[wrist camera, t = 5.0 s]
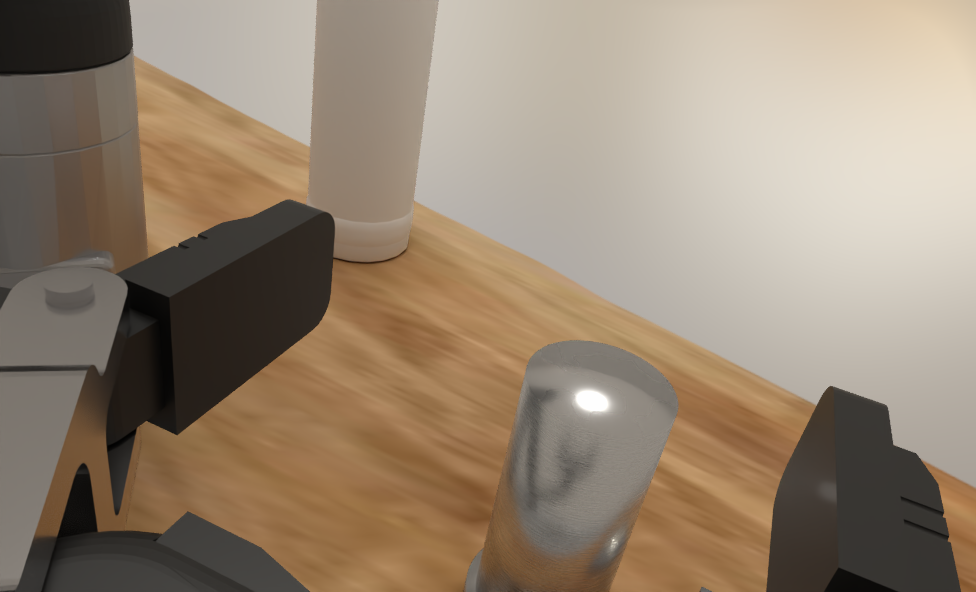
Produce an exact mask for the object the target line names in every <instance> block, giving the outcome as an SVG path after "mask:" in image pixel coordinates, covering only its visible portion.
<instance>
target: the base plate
mask: <svg viewBox="0 0 976 592" xmlns="http://www.w3.org/2000/svg"><path fill="white" fill-rule="evenodd" d="M700 592H712V591H710V590H708V589H706V588H704V587H701V589H700Z"/></svg>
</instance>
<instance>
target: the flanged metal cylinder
mask: <svg viewBox="0 0 976 592" xmlns="http://www.w3.org/2000/svg"><path fill="white" fill-rule="evenodd" d="M677 412H678V399H677V396H676V393H675V391H674V389H673V387H672V385H671V384H670V383H669V381H668V380H667V379H666V378H665V377H664V375H663V374H662V373H661V372H659V371H658V370H657V369H656V368H655V367H653V366H652V365H651V364H649V363H648V362H646V361H645V360H643V359H642V358H640V357H638V356H636V355H634V354H632V353H630V352H627V351H625V350H623V349H620V348H617V347H614V346H611V345H607V344H603V343H598V342H591V341H580V340H574V341H562V342H557V343H553V344H550V345H547V346H545V347H543V348H541V349H540V350H538V351H537V352H536V353H535V354H534V355H533V356H532V357H531V358H530V360H529V362H528V365H527V368H526V372H525V377H524V381H523V385H522V389H521V393H520V397H519V402H518V406H517V410H516V414H515V418H514V423H513V427H512V431H511V435H510V439H509V443H508V448H507V452H506V456H505V460H504V464H503V469H502V473H501V477H500V481H499V485H498V489H497V494H496V498H495V502H494V506H493V510H492V515H491V519H490V523H489V527H488V531H487V535H486V540H485V544H484V548H483V549H482V550H481V551H480V552H479V553H478V554H477V555H476V557H475V558H474V559H473V561H472V563H471V565H470V567H469V570H468V573H467V578H466V582H465V586H464V591H463V592H609V590H610V588H611V585H612V582H613V580H614V577H615V575H616V572H617V569H618V567H619V564H620V561H621V559H622V556H623V554H624V551H625V548H626V546H627V543H628V541H629V538H630V535H631V533H632V530H633V527H634V525H635V522H636V520H637V517H638V514H639V512H640V509H641V507H642V504H643V501H644V499H645V496H646V493H647V491H648V488H649V486H650V483H651V480H652V478H653V475H654V473H655V470H656V467H657V465H658V462H659V459H660V457H661V454H662V452H663V449H664V446H665V444H666V441H667V439H668V436H669V433H670V431H671V428H672V425H673V423H674V420H675V418H676V415H677Z"/></svg>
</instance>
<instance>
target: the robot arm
mask: <svg viewBox="0 0 976 592" xmlns="http://www.w3.org/2000/svg"><path fill="white" fill-rule="evenodd" d="M132 47H133V40H132V26H131V15H130V6H129V0H0V592H310V591H309V590H307V589H306V588H305V587H304V586H303V585H302V584H301V583H300V582H299V581H297V580H296V579H295V578H294V577H293V576H292V575H291V574H290V573H289V572H288V571H286V570H285V569H284V568H283V567H282V566H281V565H280V564H279V563H278V562H276V561H275V560H274V559H273V558H272V557H271V556H270V555H269V554H268V553H266V552H265V551H264V550H263V549H262V548H261V547H259V546H257V545H255V544H253V543H251V542H249V541H247V540H245V539H242V538H240V537H238V536H236V535H234V534H232V533H230V532H228V531H226V530H224V529H222V528H220V527H218V526H216V525H214V524H212V523H210V522H208V521H206V520H204V519H202V518H200V517H198V516H196V515H194V514H192V513H190V512H187V513H186V514H185V515H183V516H182V517H181V518H180V519H179V520H178V521H177V522H176V523H175V524H174V525H172V526H171V527H170V528H169V529H168V530H167V531H166V532H165V533H164V534H159V533H150V532H140V531H125V525H126V520H127V515H128V510H129V505H130V500H131V495H132V490H133V484H134V479H135V474H136V469H137V464H138V459H139V454H140V448H141V434H140V425H141V424H143V423H144V422H145V421H148V422H150V423H152V424H154V425H156V426H159V427H161V428H163V429H165V430H167V431H169V432H171V433H174V434H176V435H178V434H179V433H180V432H182V431H183V430H184V429H186V428H187V427H188V426H189V425H191V424H192V423H193V422H195V421H196V420H197V419H199V418H200V417H201V416H202V415H204V414H205V413H206V412H208V411H209V410H210V409H211V408H213V407H214V406H215V405H217V404H218V403H219V402H220V401H222V400H223V399H224V398H226V397H227V396H228V395H229V394H231V393H232V392H233V391H235V390H236V389H237V388H238V387H240V386H241V385H242V384H244V383H245V382H246V381H247V380H249V379H250V378H251V377H253V376H254V375H255V374H256V373H258V372H259V371H260V370H262V369H263V368H264V367H265V366H267V365H268V364H269V363H271V362H272V361H273V360H274V359H276V358H277V357H278V356H280V355H281V354H282V353H284V352H285V351H286V350H287V349H289V348H290V347H291V346H293V345H294V344H295V343H296V342H298V341H299V340H300V339H302V338H303V337H304V336H305V335H307V334H308V333H309V332H311V331H312V330H313V329H314V328H315V327H316V326H317V325H318V324H319V323H320V321H321V320H322V318H323V316H324V314H325V312H326V310H327V307H328V304H329V300H330V294H331V281H332V267H333V253H334V239H335V222H334V219H333V217H332V215H331V214H330V213H328V212H325V211H322V210H319V209H316V208H313V207H311V206H308V205H305V204H302V203H299V202H296V201H293V200H285V201H282V202H280V203H278V204H276V205H274V206H272V207H270V208H268V209H266V210H264V211H262V212H260V213H258V214H256V215H254V216H252V217H248V218H243V219H238V220H233V221H228V222H223V223H221V224H218V225H216V226H214V227H212V228H210V229H208V230H206V231H204V232H202V233H200V234H198V237H194V236H193V237H191V238H189V239H187V240H185V241H183V242H181V243H179V245H178V247H175V246H173V247H171V248H168V249H166V250H164V251H162V252H160V253H158V254H156V255H154V256H152V257H150V258H148V246H147V232H146V219H145V206H144V193H143V179H142V166H141V153H140V139H139V126H138V108H137V94H136V81H135V68H134V54H133V48H132ZM943 514H944V509H943V505H942V500H941V495H940V490H939V486H938V483H937V482H936V480H935V479H934V477H933V476H932V475H931V473H930V472H929V471H928V469H927V468H926V466H925V465H924V464H923V462H922V461H921V459H920V458H919V457H918V455H917V454H916V453H913V452H911V451H908V450H905V449H902V448H900V447H897V446H894V445H893V440H892V433H891V426H890V419H889V411H888V407H887V406H886V405H885V404H882V403H879V402H876V401H873V400H870V399H867V398H864V397H861V396H859V395H856V394H853V393H850V392H847V391H844V390H841V389H839V388H836V387H833V386H830V387H828V388H827V389H826V391H825V392H824V393H823V395H822V397H821V399H820V400H819V402H818V404H817V406H816V408H815V410H814V412H813V414H812V416H811V418H810V420H809V422H808V424H807V426H806V428H805V430H804V432H803V434H802V436H801V438H800V440H799V442H798V444H797V446H796V448H795V450H794V452H793V454H792V456H791V458H790V460H789V462H788V464H787V466H786V469H785V471H784V473H783V476H782V478H781V481H780V484H779V487H778V490H777V494H776V498H775V502H774V508H773V519H772V531H771V543H770V555H769V567H768V578H767V590H766V592H961V589H960V585H959V580H958V575H957V571H956V566H955V561H954V556H953V552H952V547H951V543H950V542H948V538H949V533H948V528H947V523H946V519H945V518H944V517H943Z"/></svg>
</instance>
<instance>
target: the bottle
mask: <svg viewBox="0 0 976 592" xmlns="http://www.w3.org/2000/svg"><path fill="white" fill-rule="evenodd" d="M438 1H439V0H317V15H316V36H315V58H314V79H313V101H312V102H313V104H312V123H311V144H310V165H309V187H308V196H307V201H306V205H308V206H311V207H313V208H316V209H319V210H322V211H325V212H328V213H330V214H331V215H332V217H333V219H334V222H335V239H334V253H333V257H334V258H338V259H343V260H347V261H354V262H376V261H384V260H387V259H390V258H393V257H396V256H398V255H399V254H400V253H402V252H403V251H404V250H405V249H406V248H407V245H408V241H409V233H410V229H411V225H412V220H413V212H414V206H413V201H414V193H415V185H416V177H417V169H418V160H419V153H420V144H421V136H422V129H423V120H424V112H425V104H426V97H427V89H428V80H429V73H430V65H431V57H432V49H433V41H434V33H435V25H436V17H437V9H438Z"/></svg>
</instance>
